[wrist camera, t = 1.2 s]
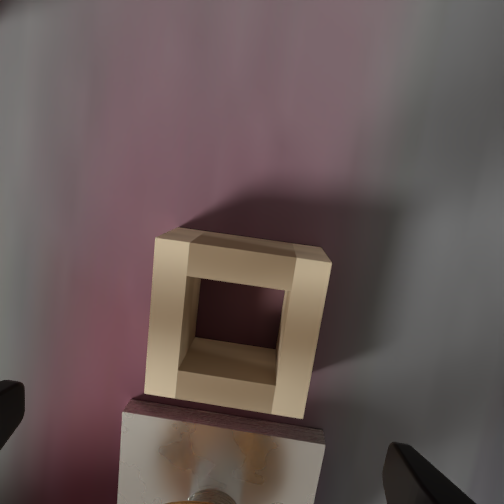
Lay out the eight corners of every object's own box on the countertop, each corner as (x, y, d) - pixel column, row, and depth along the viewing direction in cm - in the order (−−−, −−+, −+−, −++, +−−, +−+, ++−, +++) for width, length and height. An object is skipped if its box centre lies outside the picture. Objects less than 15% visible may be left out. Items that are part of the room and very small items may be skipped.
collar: (297, 377, 17) (302, 419, 14) (166, 356, 17) (143, 393, 14) (321, 247, 15) (332, 262, 12) (178, 227, 15) (155, 237, 13)
